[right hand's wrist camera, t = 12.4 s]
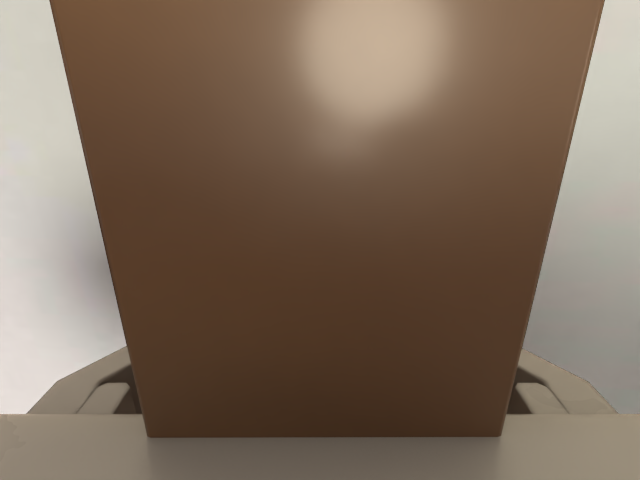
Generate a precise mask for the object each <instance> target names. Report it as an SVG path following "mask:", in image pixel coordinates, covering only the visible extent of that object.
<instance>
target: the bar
mask: <svg viewBox="0 0 640 480" xmlns="http://www.w3.org/2000/svg"><path fill="white" fill-rule="evenodd" d="M604 1H605V0H50V5H51V9H52V14H53V18H54V23H55V27H56V32H57V36H58V40H59V45H60V49H61V54H62V58H63V63H64V67H65V72H66V76H67V81H68V85H69V90H70V94H71V98H72V103H73V107H74V112H75V116H76V121H77V125H78V130H79V134H80V139H81V143H82V148H83V152H84V156H85V161H86V165H87V170H88V174H89V179H90V183H91V188H92V192H93V197H94V201H95V206H96V210H97V214H98V219H99V223H100V228H101V232H102V237H103V241H104V246H105V250H106V255H107V259H108V264H109V268H110V272H111V277H112V281H113V286H114V290H115V295H116V299H117V304H118V308H119V313H120V317H121V322H122V326H123V330H124V335H125V339H126V344H127V348H128V353H129V357H130V362H131V366H132V371H133V375H134V380H135V384H136V388H137V393H138V397H139V402H140V406H141V411H142V415H143V420H144V424H145V429H146V433H147V437H150V438H268V437H499V436H501V434H502V430H503V426H504V421H505V417H506V413H507V409H508V405H509V400H510V396H511V392H512V388H513V384H514V379H515V375H516V371H517V367H518V363H519V358H520V354H521V350H522V346H523V342H524V337H525V333H526V329H527V325H528V321H529V316H530V312H531V308H532V304H533V300H534V295H535V291H536V287H537V283H538V279H539V274H540V270H541V266H542V262H543V258H544V253H545V249H546V245H547V241H548V237H549V232H550V228H551V224H552V220H553V216H554V211H555V207H556V203H557V199H558V195H559V190H560V186H561V182H562V178H563V174H564V169H565V165H566V161H567V157H568V153H569V148H570V144H571V140H572V136H573V132H574V127H575V123H576V119H577V115H578V111H579V106H580V102H581V98H582V94H583V90H584V85H585V81H586V77H587V73H588V69H589V64H590V60H591V56H592V52H593V48H594V43H595V39H596V35H597V31H598V27H599V22H600V18H601V14H602V10H603V6H604Z"/></svg>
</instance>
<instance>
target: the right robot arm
mask: <svg viewBox="0 0 640 480" xmlns="http://www.w3.org/2000/svg"><path fill="white" fill-rule="evenodd" d="M0 480H640V414H618V412H617V411H616V410H615V409H614V408H613V407H612V406H611V405H610V404H609V403H608V402H607V401H606V400H605V399H604V398H603V397H602V396H601V395H600V394H599V393H598V391H597V390H596V389H595V388H594V387H593V386H592V385H591V384H590V383H589V382H588V381H586V380H584V379H582V378H580V377H578V376H576V375H574V374H572V373H570V372H568V371H566V370H564V369H562V368H560V367H558V366H556V365H554V364H552V363H550V362H548V361H546V360H544V359H542V358H540V357H538V356H536V355H534V354H532V353H530V352H528V351H526V350H524V349H522V350H521V354H520V358H519V363H518V367H517V371H516V375H515V379H514V384H513V388H512V392H511V396H510V400H509V405H508V409H507V413H506V417H505V421H504V426H503V430H502V434H501V436H499V437H268V438H150V437H147V433H146V429H145V424H144V420H143V415H142V411H141V406H140V402H139V397H138V393H137V388H136V384H135V380H134V375H133V371H132V366H131V362H130V357H129V353H128V348H127V346H126V347H124V348H122V349H120V350H118V351H116V352H114V353H112V354H110V355H108V356H106V357H104V358H102V359H100V360H98V361H96V362H94V363H92V364H90V365H88V366H86V367H84V368H82V369H80V370H78V371H76V372H74V373H72V374H70V375H68V376H66V377H64V378H63V379H61V380H59V381H57V382H56V383H55V384H54V385H53V386H52V387H51V388H50V389H49V390H48V391H47V392H46V394H45V395H44V396H43V397H42V398H41V399H40V400H39V401H38V402H37V403H36V404H35V405H34V406H33V407H32V408H31V409H30V411H29V412H28V413H27V414H0Z"/></svg>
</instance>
